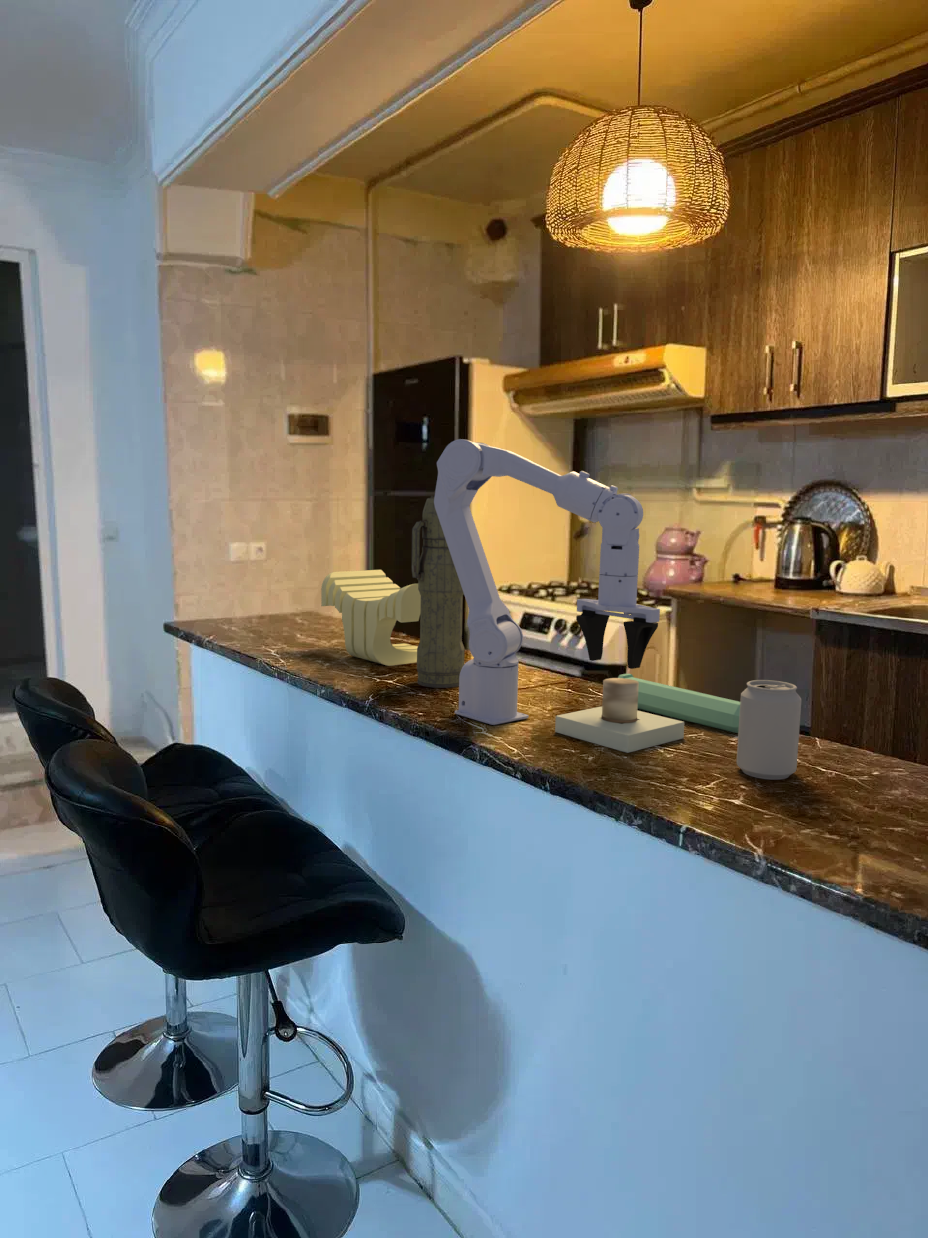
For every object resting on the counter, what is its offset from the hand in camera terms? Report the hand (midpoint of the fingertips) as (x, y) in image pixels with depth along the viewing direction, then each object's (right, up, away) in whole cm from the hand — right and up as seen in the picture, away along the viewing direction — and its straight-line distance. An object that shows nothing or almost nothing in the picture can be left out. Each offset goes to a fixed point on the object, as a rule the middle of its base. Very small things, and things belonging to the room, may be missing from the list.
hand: (614, 663), depth 138 cm
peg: (0, -10, -2) cm, 11 cm away
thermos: (-27, -5, +34) cm, 44 cm away
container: (+13, -10, +10) cm, 19 cm away
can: (+17, -14, -19) cm, 29 cm away
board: (0, -11, -2) cm, 11 cm away
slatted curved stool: (-39, -2, +58) cm, 70 cm away
